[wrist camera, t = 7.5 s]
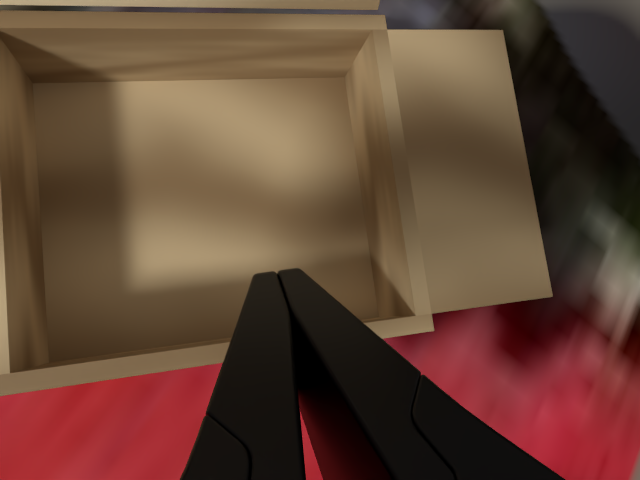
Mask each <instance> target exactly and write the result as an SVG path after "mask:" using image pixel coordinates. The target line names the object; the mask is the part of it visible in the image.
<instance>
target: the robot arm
mask: <svg viewBox="0 0 640 480" xmlns="http://www.w3.org/2000/svg"><path fill="white" fill-rule="evenodd" d="M299 408H300V409H299ZM300 411H301V414H302V417H303V420H304V423H305V426H306V429H307V432H308V435H309V438H310V441H311V444H312V447H313V450H314V453H315V456H316V459H317V462H318V465H319V468H320V471H321V474H322V477H323V480H565V479H564V478H562V477H561V476H559V475H558V474H557V473H555V472H554V471H552V470H551V469H549V468H548V467H546V466H545V465H544V464H542V463H541V462H539V461H538V460H536V459H535V458H534V457H532V456H531V455H529V454H528V453H526V452H525V451H524V450H522V449H521V448H519V447H518V446H516V445H515V444H513V443H512V442H511V441H509V440H508V439H506V438H505V437H503V436H502V435H501V434H499V433H498V432H496V431H495V430H493V429H492V428H491V427H489V426H488V425H487V424H485V423H484V422H483V421H481V420H480V419H478V418H477V417H476V416H474V415H473V414H472V413H470V412H469V411H467V410H466V409H465V408H464V407H462V406H461V405H460V404H459V403H457V402H456V401H455V400H454V399H452V398H451V397H450V396H449V395H448V394H446V393H445V392H444V391H443V390H441V389H440V388H439V387H438V386H437V385H435V384H434V383H433V382H432V381H431V380H430V379H428V378H427V377H426V376H425V375H421V372H420V371H419V370H418V369H417V368H415V367H414V366H413V365H412V364H411V363H410V362H408V361H407V360H406V359H405V358H404V357H403V356H401V355H400V354H399V353H398V352H397V351H396V350H394V349H393V348H392V347H391V346H390V345H389V344H387V343H386V342H385V341H384V340H383V339H382V338H380V337H379V336H378V335H377V334H376V333H375V332H374V331H372V330H371V329H370V328H369V327H368V326H367V325H365V324H364V323H363V322H362V321H361V320H360V319H358V318H357V317H356V316H355V315H354V314H353V313H351V312H350V311H349V310H348V309H347V308H346V307H344V306H343V305H342V304H341V303H340V302H339V301H337V300H336V299H335V298H334V297H333V296H332V295H330V294H329V293H328V292H327V291H326V290H325V289H323V288H322V287H321V286H320V285H319V284H318V283H317V282H315V281H314V280H313V279H312V278H311V277H310V276H308V275H307V274H306V273H305V272H304V271H303V270H301V269H299V268H291V269H284V270H279V271H278V273H276V272H274V271H270V272H262V273H256V274H254V275H253V277H252V280H251V283H250V286H249V289H248V292H247V294H246V297H245V300H244V303H243V306H242V309H241V312H240V315H239V318H238V321H237V323H236V326H235V329H234V332H233V335H232V338H231V341H230V344H229V347H228V350H227V353H226V355H225V358H224V361H223V364H222V367H221V370H220V373H219V376H218V379H217V382H216V384H215V387H214V390H213V393H212V396H211V399H210V402H209V405H208V408H207V411H206V416H205V417H204V418H203V421H202V424H201V427H200V430H199V433H198V436H197V438H196V441H195V444H194V446H193V449H192V451H191V454H190V457H189V459H188V462H187V464H186V467H185V469H184V471H183V473H182V476H181V478H180V480H306V475H305V464H304V453H303V442H302V431H301V420H300Z"/></svg>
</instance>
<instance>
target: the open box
mask: <svg viewBox="0 0 640 480" xmlns="http://www.w3.org/2000/svg"><path fill="white" fill-rule="evenodd" d="M291 268H299V269H301V270H303V271H304V272H305V273H306V274H307V275H308V276H310V277H311V278H312V279H313V280H314V281H315V282H317V283H318V284H319V285H320V286H321V287H322V288H323V289H325V290H326V291H327V292H328V293H329V294H330V295H332V296H333V297H334V298H335V299H336V300H337V301H339V302H340V303H341V304H342V305H343V306H344V307H346V308H347V309H348V310H349V311H350V312H351V313H353V314H354V315H355V316H356V317H357V318H358V319H360V320H361V321H362V322H363V323H364V324H365V325H367V326H368V327H369V328H370V329H371V330H372V331H374V332H375V333H376V334H377V335H378V336H379V337H380V338H382V339H383V338H389V337H396V336H403V335H409V334H416V333H422V332H429V331H434V326H433V320H432V314H433V313H440V312H447V311H454V310H461V309H468V308H475V307H482V306H489V305H496V304H503V303H510V302H517V301H525V300H532V299H539V298H546V297H553V295H552V290H551V284H550V279H549V274H548V268H547V263H546V258H545V252H544V247H543V242H542V236H541V231H540V226H539V220H538V215H537V210H536V204H535V199H534V194H533V188H532V183H531V178H530V172H529V167H528V162H527V156H526V151H525V146H524V140H523V135H522V130H521V124H520V119H519V114H518V108H517V103H516V98H515V92H514V87H513V82H512V76H511V71H510V66H509V61H508V55H507V50H506V45H505V39H504V34H503V30H387V25H386V19H385V15H346V14H259V13H172V12H86V11H0V396H4V395H10V394H17V393H24V392H30V391H37V390H44V389H50V388H57V387H64V386H70V385H77V384H83V383H90V382H97V381H103V380H110V379H117V378H123V377H130V376H137V375H143V374H150V373H157V372H163V371H170V370H177V369H183V368H190V367H196V366H203V365H210V364H216V363H223V361H224V358H225V355H226V353H227V350H228V347H229V344H230V341H231V338H232V335H233V332H234V329H235V326H236V323H237V321H238V318H239V315H240V312H241V309H242V306H243V303H244V300H245V297H246V294H247V292H248V289H249V286H250V283H251V280H252V277H253V275H254V274H256V273H262V272H270V271H274V272H276V273H278V271H279V270H284V269H291Z"/></svg>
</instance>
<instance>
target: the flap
mask: <svg viewBox="0 0 640 480" xmlns="http://www.w3.org/2000/svg"><path fill="white" fill-rule="evenodd" d="M379 3H380V0H0V5H62V6H134V7H205V8H276V9H348V10H378V7H379Z"/></svg>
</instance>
